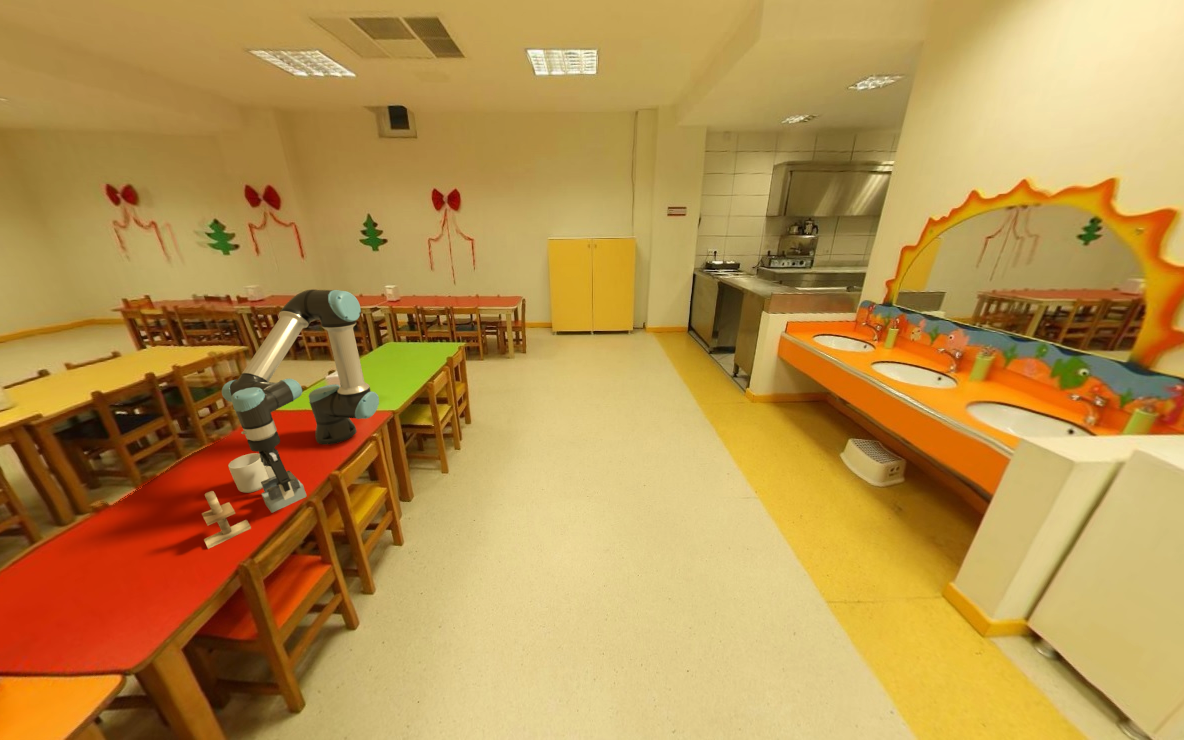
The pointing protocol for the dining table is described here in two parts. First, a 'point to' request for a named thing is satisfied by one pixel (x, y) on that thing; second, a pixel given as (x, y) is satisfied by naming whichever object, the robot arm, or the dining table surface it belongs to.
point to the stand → (221, 521)
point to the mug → (248, 472)
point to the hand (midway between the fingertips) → (282, 489)
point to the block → (280, 502)
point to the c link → (274, 489)
